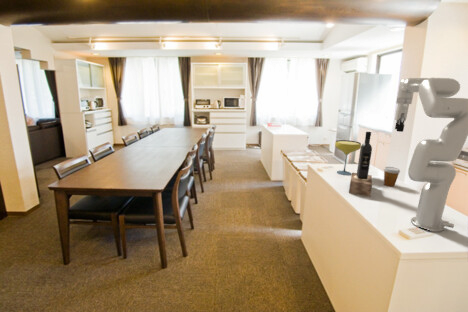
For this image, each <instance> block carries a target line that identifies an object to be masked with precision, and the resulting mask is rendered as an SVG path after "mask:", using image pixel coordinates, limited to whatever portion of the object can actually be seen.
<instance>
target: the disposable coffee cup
mask: <svg viewBox="0 0 468 312" xmlns="http://www.w3.org/2000/svg"><path fill="white" fill-rule="evenodd" d="M383 172H384V173H383V174H384V175H383V185H384V186H386V187H392V188H393V187H395V185H396V182H397V179H398V177H399V174H400V173H401V170H400V168H397V167H394V166H385V167H384V168H383Z"/></svg>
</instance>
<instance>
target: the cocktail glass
mask: <svg viewBox="0 0 468 312" xmlns="http://www.w3.org/2000/svg"><path fill="white" fill-rule="evenodd" d="M334 145H335V146H334V147H336V148H337V150H339V151H341V152H342V153H343V154H344V155H345V160H344V167H343V170H338V171H336V173H337V174H338V175H342V176H352V172H351V171H346V165H347V156H348V155H350V154H351V153H353V152H357V151H360V148H361V146H362V144H361V142H359V141H355V140H345V139H343V140H342V139H339V140H336V141H335V143H334Z"/></svg>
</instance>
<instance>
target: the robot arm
mask: <svg viewBox="0 0 468 312" xmlns="http://www.w3.org/2000/svg"><path fill="white" fill-rule="evenodd" d="M398 85H399V86H398V91H397V96H396V102H395V104H397V107H396V111H395V117H394V120H395V121H396V122H395V127H394V130H396V132H399V133H400V132H402V133H403V132H404V130H405V129H404V128H405V122H406V120H407V117H408V112H409V107H410V105H412V103H413V98H414V97H413V96H414V93H418V96H419V100H420V102H421V104H422V107H423V112H424V114H425V115H426V116H427V117H429V118H433V119H434V118H435V119H436V118H437V119H453V120H452V121H450V122H448V123H447V124H446V125H445V126H444V127H443V128H442V130H441V134H440V136H439V138H437V139H430V138H427V139H422V140H420V141H419V142H418V143H417V145H416V146H415V149H414V151H413V153H412V157H411V160H410V163H409V166H408V169H407V176H408V177H409V179H410V180H412V181H413V182H419V183H420V182H421V183H425V184H424V185H423V186H422V188H421V192H420V196H419V200H418V204H417V210H416V212H415V213H416V214H415V216H414V217H411V219H410V223H411V224H413V225H414V226H415V227H417V228H419V227H421V228H425V229H429V230H431V231H430V232H435V233H440V232H443V231H444V228H445V227H446V228H447V227H448V228H450V229H451V228H452V229H454V227H455V224H454V223H452V222H451V223H450V222H449V221H448V220H443V214H444V210H445V206H446V202H447V198H448V194H449V190H450V188H451V186H452V184H453V182H454V180H455V178H456V175H457V170H456V168H455V166H454V165H452V164H451V163H450V162H454V161H456V160H458V158H459V157H460V155H461V153H462V150H463V148H464V146H465V143H466V141H467V139H468V98H466V97H453V96H455V95H457V94H458V93H459V92H460V89H461V84H460V82H459V81H458V80H456V79H454V78H450V77H449V78H448V77H447V78H446V77H429V78H428V77H409V78H403V79H401V80H400V81H399V83H398ZM421 228H420V229H421Z"/></svg>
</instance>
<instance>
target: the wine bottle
mask: <svg viewBox="0 0 468 312" xmlns="http://www.w3.org/2000/svg"><path fill="white" fill-rule="evenodd" d="M371 136H372V132H371V131H366V132H365V137H364V142H363V143H362V144H361V147H360V149H359V156H358V163H357V171H356V173H357V177H358V178H359V179H367V178H368V175H369V170H370V165H371V157H372V152H373V151H372V150H373V147H372V145H371V144H370V143H371V142H370V141H371Z"/></svg>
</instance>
